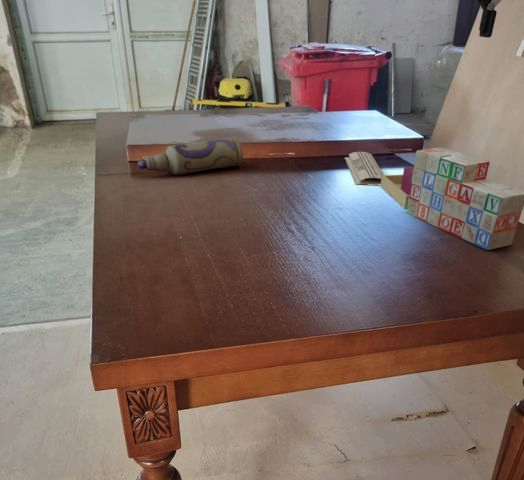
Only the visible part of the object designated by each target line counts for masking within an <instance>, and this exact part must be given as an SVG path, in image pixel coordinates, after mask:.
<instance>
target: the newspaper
mask: <svg viewBox="0 0 524 480" xmlns="http://www.w3.org/2000/svg"><path fill="white" fill-rule="evenodd" d="M344 160H345V162H346V165H347V168H348V170H349V172H350V174H351V177H352V179H353V181H354V183H355V185H366V184H381V177H382V175H384V173H383V171H382V170H381V167H379V165H378V163H377V161H376V160H375V158H374V156H373V155H372V154H371V153H370V152H366V151H353V152H351V153H349V154H348V156H347V157H344Z"/></svg>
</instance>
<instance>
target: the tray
mask: <svg viewBox="0 0 524 480" xmlns="http://www.w3.org/2000/svg"><path fill="white" fill-rule="evenodd" d="M402 178H403V174H385V175H384V174H383V175H382V177H381V184H380V185H379V187H380V186H381V187H382V188H383V189H384V190H385V191H386V194H388V195H389V196H390V195H391V196H390V197H391V198H392V199H393V198H394V199H395V200H396V201H395V200H394V199H393V200H394V201H395V202H396V203H397V204H399V205H400V206H401V207H402V208H403V209H407V207H408V201H409V197H410V195H407V194H406V193H405V192H404V191H402V190H401V184H402ZM381 187H380V188H381ZM382 188H381V189H382ZM383 189H382V190H383ZM384 190H383V191H384ZM385 191H384V192H385Z"/></svg>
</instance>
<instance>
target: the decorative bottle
mask: <svg viewBox="0 0 524 480" xmlns="http://www.w3.org/2000/svg"><path fill="white" fill-rule="evenodd" d="M243 160H244V152H243V147H242V144H241V143H240V141H239V140H238V139H237V138H235V137H229V138H220V139H211V140H201V141H196V142H188V143H182V144H174V145H169V146H167V148H166V150H165V153H163V152H162V153H158V154H155V155H154V156H147V157H145V158H143V159H141V160H138V161H137V164H136V166H137V168H138V169H141V170H146V171H157V172H168V173H172V175H177V176H178V175H186V174H191V173H199V172H204V171H212V170H213V171H214V170H218V169H224V168H232V167H239V166H241V165H242V162H243Z"/></svg>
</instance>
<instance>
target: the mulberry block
mask: <svg viewBox="0 0 524 480" xmlns="http://www.w3.org/2000/svg"><path fill="white" fill-rule="evenodd" d="M413 169H414V166H404V167H403V173H402V175H403V178H402V184H401V190H402V191H404V192H405V193H406V194H407V195H410V190H411V184H412V176H413Z"/></svg>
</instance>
